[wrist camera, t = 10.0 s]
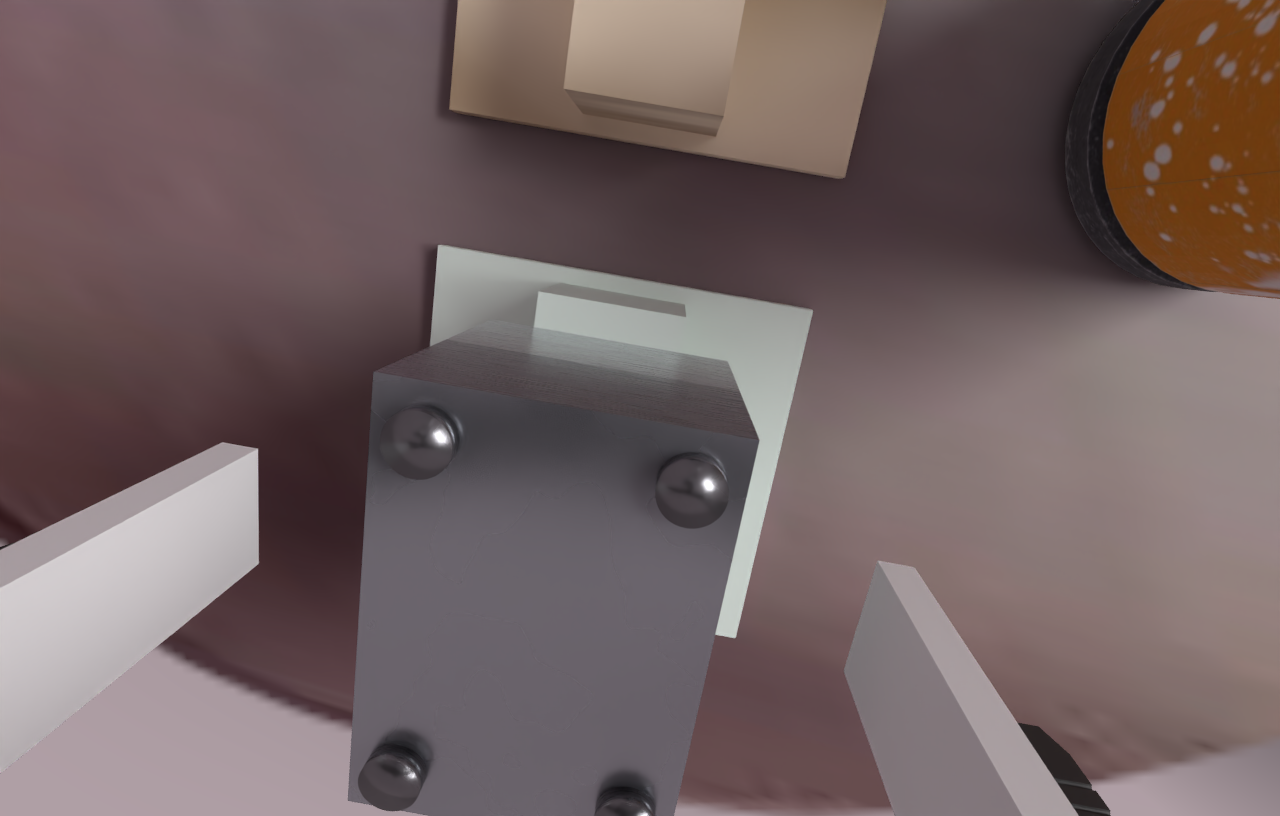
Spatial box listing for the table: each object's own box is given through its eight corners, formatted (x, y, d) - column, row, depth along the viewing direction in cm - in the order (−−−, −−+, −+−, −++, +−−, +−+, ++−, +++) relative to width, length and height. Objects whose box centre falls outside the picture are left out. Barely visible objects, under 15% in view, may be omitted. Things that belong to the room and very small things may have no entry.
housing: (491, 319, 17) (362, 376, 10) (727, 360, 17) (762, 448, 10) (460, 608, 20) (337, 817, 13) (668, 646, 20) (663, 878, 13)
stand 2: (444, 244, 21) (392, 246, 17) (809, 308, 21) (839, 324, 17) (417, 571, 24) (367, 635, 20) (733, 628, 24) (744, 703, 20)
